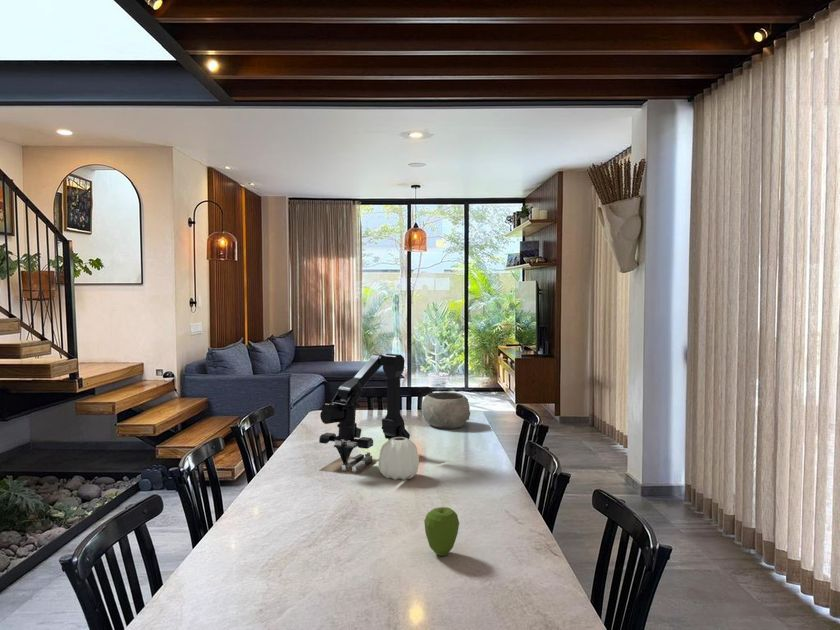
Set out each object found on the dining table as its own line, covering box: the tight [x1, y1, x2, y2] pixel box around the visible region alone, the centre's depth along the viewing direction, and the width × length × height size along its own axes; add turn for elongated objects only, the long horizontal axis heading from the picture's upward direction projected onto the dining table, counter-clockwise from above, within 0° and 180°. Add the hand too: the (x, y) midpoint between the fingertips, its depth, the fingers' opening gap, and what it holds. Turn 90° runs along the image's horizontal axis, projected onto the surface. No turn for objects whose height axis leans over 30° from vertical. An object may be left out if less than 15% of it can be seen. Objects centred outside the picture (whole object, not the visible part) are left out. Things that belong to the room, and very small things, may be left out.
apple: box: [423, 506, 460, 557], centre depth 144 cm, size 9×8×12 cm
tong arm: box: [342, 453, 365, 471], centre depth 215 cm, size 2×14×2 cm, turn 160°
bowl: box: [421, 391, 471, 430], centre depth 286 cm, size 23×23×15 cm
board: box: [318, 456, 379, 476], centre depth 216 cm, size 15×20×1 cm
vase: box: [378, 437, 420, 481], centre depth 205 cm, size 14×14×13 cm
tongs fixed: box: [352, 451, 373, 473], centre depth 216 cm, size 4×18×3 cm, turn 163°
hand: (345, 464), depth 212 cm, fingers closed
